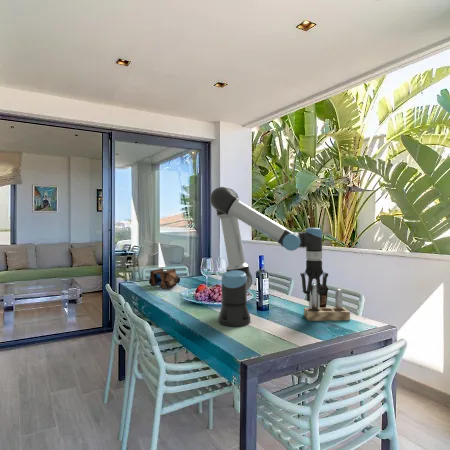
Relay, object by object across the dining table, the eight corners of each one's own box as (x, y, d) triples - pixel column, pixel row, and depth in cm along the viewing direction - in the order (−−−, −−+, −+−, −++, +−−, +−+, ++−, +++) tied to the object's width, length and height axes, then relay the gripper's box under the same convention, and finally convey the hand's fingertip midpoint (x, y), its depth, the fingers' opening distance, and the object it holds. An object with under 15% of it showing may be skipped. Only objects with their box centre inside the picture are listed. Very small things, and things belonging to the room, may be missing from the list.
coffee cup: (329, 312, 177) (329, 287, 177) (312, 311, 179) (312, 286, 178) (327, 308, 186) (327, 283, 185) (311, 307, 187) (311, 283, 187)
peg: (311, 314, 166) (311, 285, 166) (310, 312, 170) (310, 284, 169) (318, 314, 166) (318, 285, 166) (316, 312, 170) (316, 284, 169)
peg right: (336, 318, 167) (336, 290, 166) (334, 316, 170) (334, 288, 169) (343, 318, 167) (343, 289, 166) (340, 316, 170) (340, 288, 169)
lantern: (155, 293, 251) (179, 296, 235) (142, 278, 243) (166, 281, 227) (167, 276, 261) (191, 278, 245) (155, 261, 252) (179, 262, 237)
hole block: (308, 320, 164) (308, 312, 164) (304, 315, 172) (304, 307, 172) (350, 320, 164) (350, 311, 164) (344, 315, 172) (344, 307, 172)
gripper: (299, 260, 163) (299, 310, 164) (333, 260, 163) (333, 309, 164) (295, 258, 171) (295, 305, 172) (328, 258, 171) (328, 305, 172)
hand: (314, 307), depth 168 cm, fingers closed on peg, 3 cm apart
